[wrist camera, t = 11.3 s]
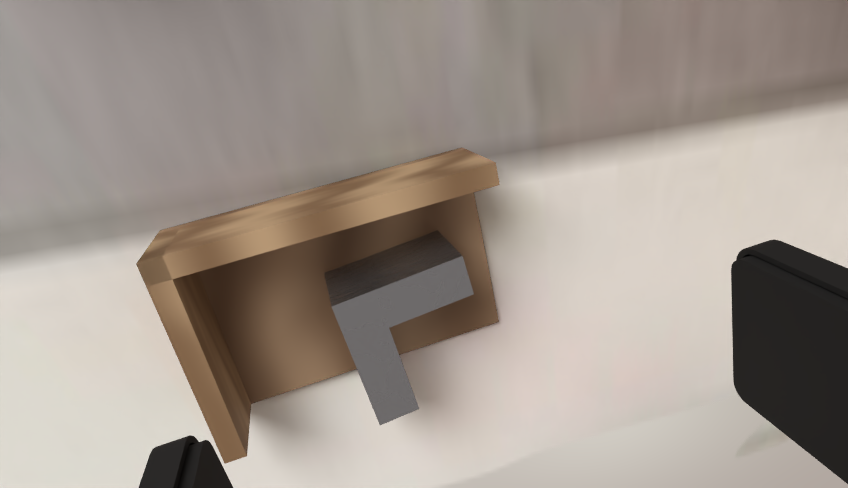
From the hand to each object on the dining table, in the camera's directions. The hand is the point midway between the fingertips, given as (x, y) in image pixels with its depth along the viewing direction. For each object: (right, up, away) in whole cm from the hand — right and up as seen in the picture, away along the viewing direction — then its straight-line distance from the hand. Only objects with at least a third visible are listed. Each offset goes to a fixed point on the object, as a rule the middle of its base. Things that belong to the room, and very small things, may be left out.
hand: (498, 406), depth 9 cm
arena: (-6, +1, +25) cm, 26 cm away
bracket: (-3, -1, +26) cm, 26 cm away
